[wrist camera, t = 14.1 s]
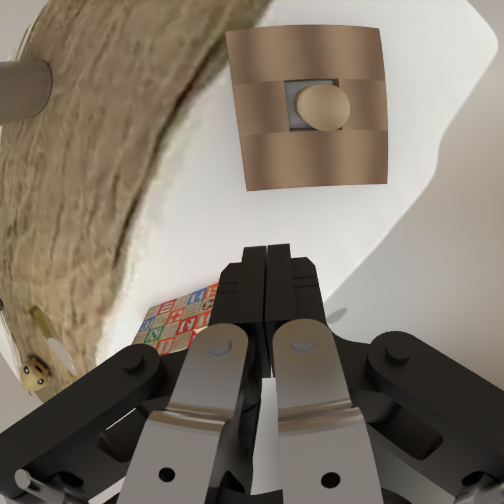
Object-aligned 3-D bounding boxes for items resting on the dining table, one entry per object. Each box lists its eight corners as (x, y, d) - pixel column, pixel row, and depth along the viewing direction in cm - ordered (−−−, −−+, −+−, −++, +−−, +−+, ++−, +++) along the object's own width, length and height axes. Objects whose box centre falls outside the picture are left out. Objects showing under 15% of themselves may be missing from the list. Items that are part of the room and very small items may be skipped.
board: (249, 183, 34) (246, 191, 31) (229, 37, 25) (225, 32, 22) (378, 176, 32) (387, 184, 29) (370, 33, 23) (379, 28, 20)
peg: (294, 122, 30) (302, 132, 21) (290, 88, 28) (297, 83, 19) (330, 121, 29) (352, 131, 21) (327, 86, 27) (348, 82, 19)
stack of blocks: (262, 264, 40) (256, 328, 29) (281, 296, 42) (281, 361, 32) (148, 308, 46) (121, 363, 36) (170, 332, 49) (149, 388, 38)
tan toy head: (57, 369, 64) (42, 395, 55) (49, 377, 69) (36, 401, 59) (32, 347, 61) (15, 373, 51) (26, 358, 65) (12, 381, 56)
